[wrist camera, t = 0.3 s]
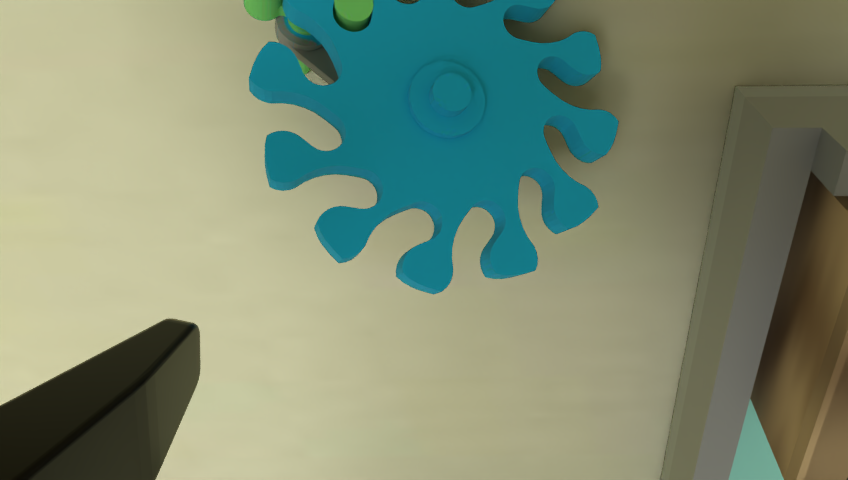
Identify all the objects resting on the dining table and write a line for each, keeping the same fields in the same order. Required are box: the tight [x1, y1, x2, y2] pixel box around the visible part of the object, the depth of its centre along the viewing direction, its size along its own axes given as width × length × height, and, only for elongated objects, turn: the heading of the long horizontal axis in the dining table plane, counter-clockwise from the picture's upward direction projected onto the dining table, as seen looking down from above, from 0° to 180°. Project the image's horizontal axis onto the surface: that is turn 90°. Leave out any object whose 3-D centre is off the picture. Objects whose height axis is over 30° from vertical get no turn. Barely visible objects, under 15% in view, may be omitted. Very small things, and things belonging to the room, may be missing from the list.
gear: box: [244, 0, 619, 294], centre depth 20 cm, size 11×6×10 cm
